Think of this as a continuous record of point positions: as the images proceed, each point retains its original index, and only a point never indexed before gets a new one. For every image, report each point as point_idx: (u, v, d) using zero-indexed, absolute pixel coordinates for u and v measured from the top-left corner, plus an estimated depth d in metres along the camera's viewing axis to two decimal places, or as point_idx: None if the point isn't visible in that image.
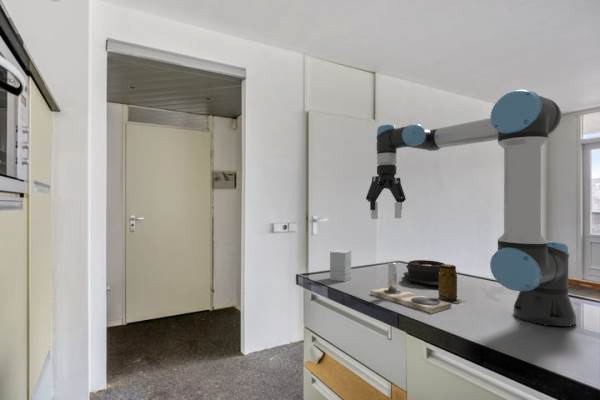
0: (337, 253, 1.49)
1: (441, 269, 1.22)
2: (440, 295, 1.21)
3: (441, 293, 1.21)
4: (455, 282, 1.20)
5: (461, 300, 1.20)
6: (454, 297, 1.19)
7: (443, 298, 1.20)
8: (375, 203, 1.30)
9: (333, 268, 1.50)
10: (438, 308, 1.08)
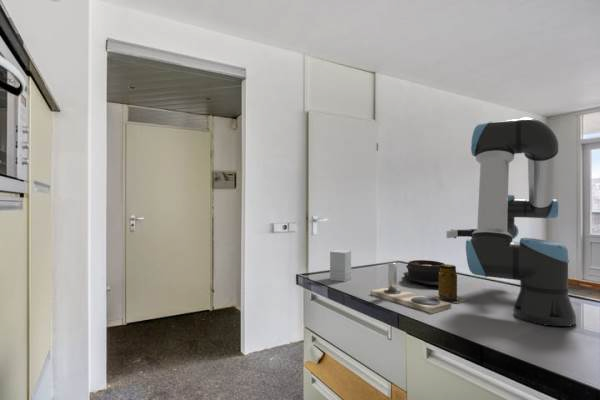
0: (337, 253, 1.49)
1: (441, 269, 1.22)
2: (440, 295, 1.21)
3: (441, 293, 1.21)
4: (455, 282, 1.20)
5: (461, 300, 1.20)
6: (454, 297, 1.19)
7: (443, 298, 1.20)
8: None
9: (333, 268, 1.50)
10: (438, 308, 1.08)
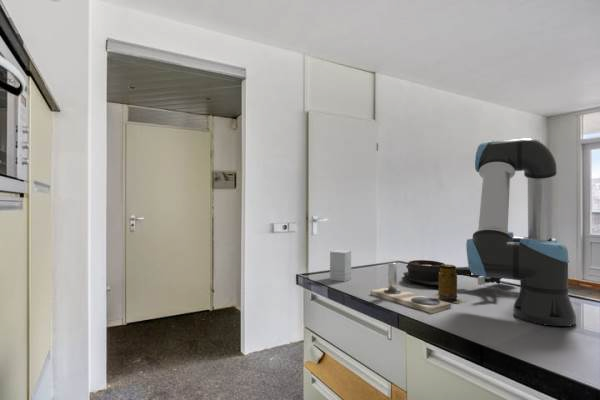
0: (337, 253, 1.49)
1: (441, 269, 1.22)
2: (440, 295, 1.21)
3: (441, 293, 1.21)
4: (455, 282, 1.20)
5: (461, 300, 1.20)
6: (454, 297, 1.19)
7: (443, 298, 1.20)
8: None
9: (333, 268, 1.50)
10: (438, 308, 1.08)
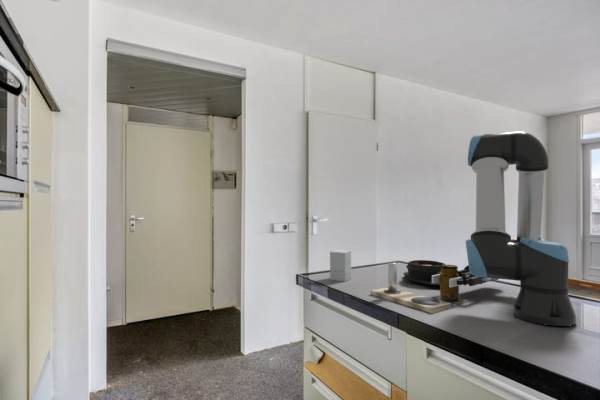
0: (337, 253, 1.49)
1: (443, 269, 1.21)
2: (442, 295, 1.20)
3: (443, 294, 1.20)
4: None
5: (463, 300, 1.19)
6: (456, 297, 1.18)
7: (445, 298, 1.19)
8: None
9: (333, 268, 1.50)
10: (438, 308, 1.08)
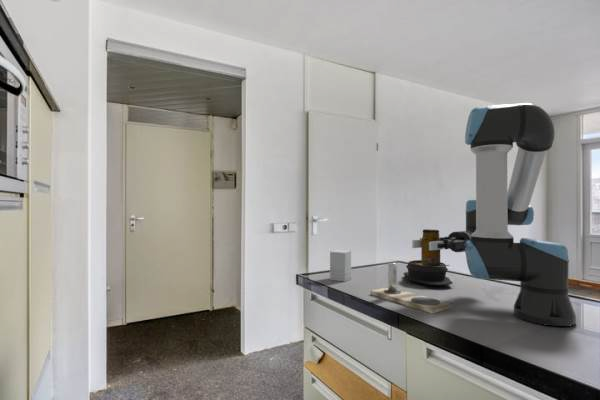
0: (337, 253, 1.49)
1: (424, 233, 1.17)
2: (422, 260, 1.16)
3: (424, 258, 1.16)
4: None
5: (444, 265, 1.14)
6: (437, 262, 1.14)
7: (425, 263, 1.15)
8: None
9: (333, 268, 1.50)
10: (438, 308, 1.08)
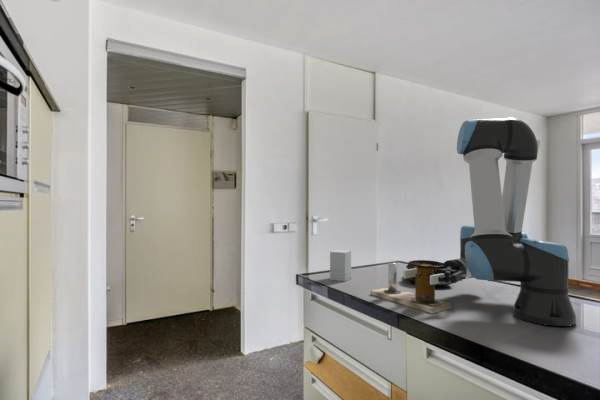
0: (337, 253, 1.49)
1: (418, 269, 1.13)
2: (417, 297, 1.13)
3: (418, 295, 1.12)
4: None
5: (439, 302, 1.11)
6: (431, 299, 1.11)
7: (420, 300, 1.12)
8: None
9: (333, 268, 1.50)
10: (438, 308, 1.08)
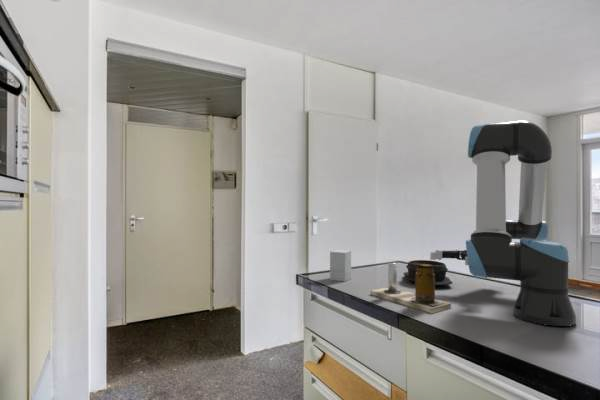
0: (337, 253, 1.49)
1: (418, 269, 1.13)
2: (417, 297, 1.13)
3: (418, 295, 1.12)
4: (432, 283, 1.11)
5: (439, 302, 1.11)
6: (431, 299, 1.11)
7: (420, 300, 1.12)
8: None
9: (333, 268, 1.50)
10: (438, 308, 1.08)
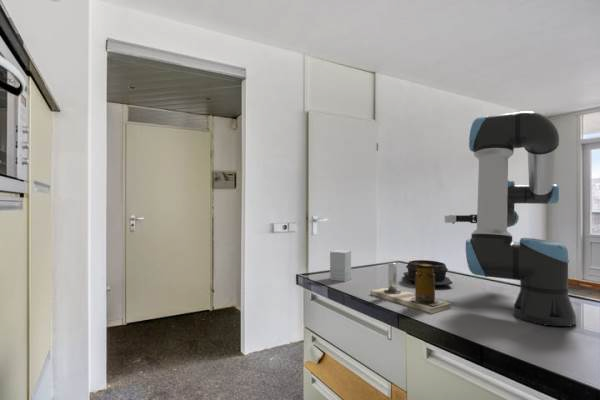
0: (337, 253, 1.49)
1: (418, 269, 1.13)
2: (417, 297, 1.13)
3: (418, 295, 1.12)
4: (432, 283, 1.11)
5: (439, 302, 1.11)
6: (431, 299, 1.11)
7: (420, 300, 1.12)
8: None
9: (333, 268, 1.50)
10: (438, 308, 1.08)
